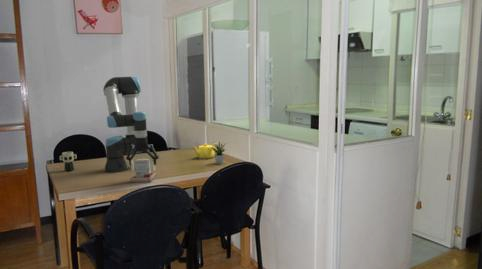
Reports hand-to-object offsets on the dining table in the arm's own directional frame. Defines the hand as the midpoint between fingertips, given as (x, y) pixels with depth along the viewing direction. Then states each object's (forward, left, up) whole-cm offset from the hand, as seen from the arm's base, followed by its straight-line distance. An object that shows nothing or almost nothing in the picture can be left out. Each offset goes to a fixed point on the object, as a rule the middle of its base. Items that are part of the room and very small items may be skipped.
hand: (143, 170), depth 240 cm
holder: (0, 0, -6) cm, 6 cm away
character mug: (-62, +27, -6) cm, 68 cm away
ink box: (0, 0, -5) cm, 5 cm away
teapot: (+31, +62, -6) cm, 70 cm away
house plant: (+44, +43, -6) cm, 62 cm away
